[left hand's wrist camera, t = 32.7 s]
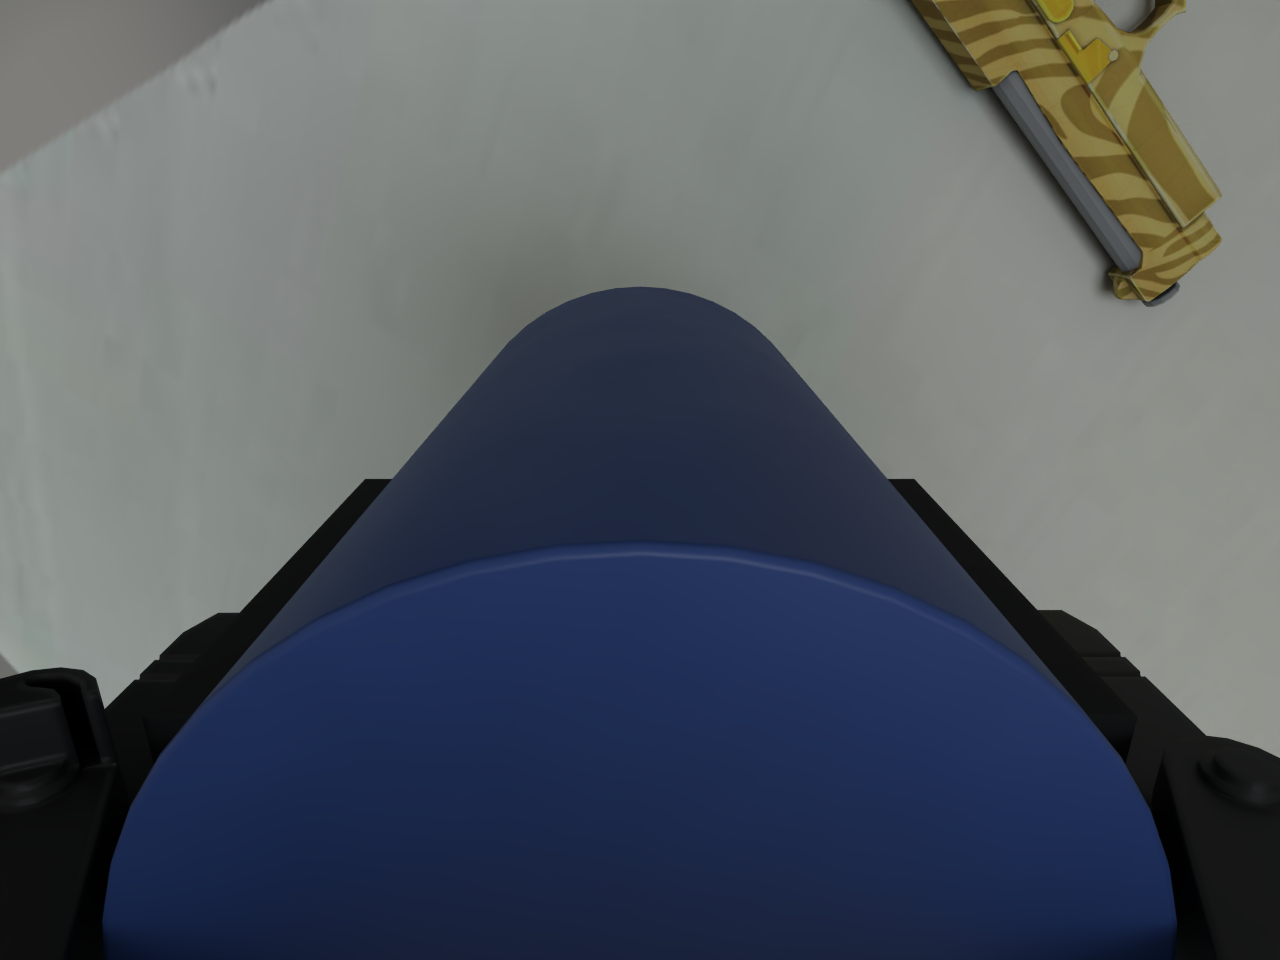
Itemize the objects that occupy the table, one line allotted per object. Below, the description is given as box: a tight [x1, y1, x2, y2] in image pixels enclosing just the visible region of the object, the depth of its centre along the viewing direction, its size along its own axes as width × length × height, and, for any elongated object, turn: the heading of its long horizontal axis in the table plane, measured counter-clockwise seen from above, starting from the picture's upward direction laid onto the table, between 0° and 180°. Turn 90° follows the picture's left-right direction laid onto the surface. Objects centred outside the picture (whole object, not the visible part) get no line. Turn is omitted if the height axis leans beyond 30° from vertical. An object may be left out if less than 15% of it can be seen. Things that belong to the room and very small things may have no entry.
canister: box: [102, 287, 1177, 960], centre depth 12 cm, size 8×8×13 cm
